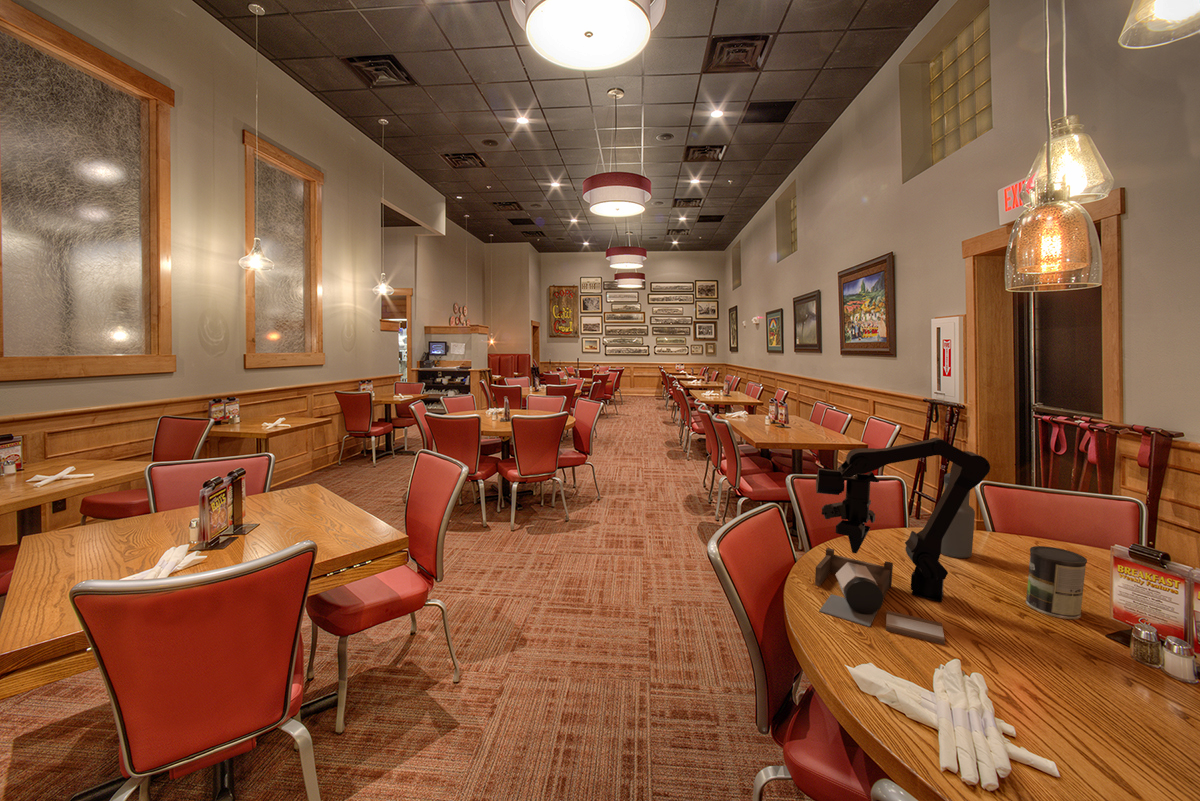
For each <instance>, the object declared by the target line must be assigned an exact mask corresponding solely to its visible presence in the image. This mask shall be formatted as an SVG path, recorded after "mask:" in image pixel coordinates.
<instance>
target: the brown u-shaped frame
mask: <svg viewBox="0 0 1200 801" xmlns="http://www.w3.org/2000/svg"><path fill="white" fill-rule="evenodd" d="M847 562H849V563H853V564H857V565H862V566H866V567H867V569H868V570H869V572H870V573H871V575H872V576H873V578H874V579H875V581H876V583H877V586H878V587H879V589H880V590H881V591H882V594H883V600H884V599H885V597H886V595H887V593H888V591H889V589H890V588H891V589H892V586H893V585H892V583H893V567H894V562H890V561H884V563H883V565H880V564H876V563H872V562H867V561H864V560H860V559H854V558H851V557H847V556H842V555H838V554H835V548H834V549H833V548H829V547H827V548H826V549H825V556H824V557H823V558H822V560H820V561H819V562H818V564H817V565H816V566H815V575H814V576H815V577H814V578H815V579H814V581H815V582H814V585H815V586H818V587H821V585H822V584H823V583H824V582H825V580H826V579H827V578H828V577H829V575H830V574H835V573H837V572H838V571H839V570H840V569H841V568H842V567H843V566H844V565H845V564H846V563H847ZM830 572H831V573H830ZM826 577H827V578H826Z"/></svg>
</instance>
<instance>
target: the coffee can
mask: <svg viewBox="0 0 1200 801" xmlns="http://www.w3.org/2000/svg"><path fill="white" fill-rule="evenodd" d="M1029 552H1030V554H1029V565H1028V576H1027V577H1028V578H1027V579H1028V580H1027V590H1026V599H1025V603H1026V606H1028V607H1029V608H1031V609H1032V610H1034V611H1036V612H1039V613H1041V614H1043V615H1047V616H1049V617H1055V618H1058V619H1065V620H1078V619H1080V618H1081V617H1082V607H1083V606H1082V604H1083V596H1084V588H1085V587H1084V586H1085V576H1086V567H1087V563H1088V559H1087V558H1086V557H1084V556H1083V555H1081V554H1079V553H1076V552H1074V551H1070V550H1069V549H1068V550H1067V549H1063V548H1058V547H1053V546H1043V545H1035V546H1031V547H1030V548H1029Z"/></svg>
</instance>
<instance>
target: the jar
mask: <svg viewBox="0 0 1200 801" xmlns="http://www.w3.org/2000/svg"><path fill="white" fill-rule="evenodd" d="M834 574H835V573H834ZM835 577H836V581H837V582H838V583H837V584H838V585H839V588H840V591H841V592H842V594H843V597H844V598H845V599H846V601H847V603H848V605H849V606H850V607H851V608H852V609H853V610H855V611H856V612H858V613H861V614H872V613H874V612H876V611H879V610H880V609H881V608H882V606H883V604H884V599H883V594H882V591H881V590H880V589H879V587H878V586H877V583H876V581H875V579H874V578H873V576H872V575H871V573H870V572H869V570H868V569H867V567H866V566H862V565H857V564H853V563H849V562H847V563H846V564H845V565H844V566H843V567H842V568H841V569H840V570H839V571H838V572H837V573H836V574H835Z"/></svg>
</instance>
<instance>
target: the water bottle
mask: <svg viewBox="0 0 1200 801" xmlns="http://www.w3.org/2000/svg"><path fill="white" fill-rule="evenodd" d="M949 481H950V472H948V473H945V474H944V476H943V482H944V483H943V484H944V491H945V489H946V487H947V485H948V483H949ZM944 491H943V492H944ZM970 494H971V490H970V491H969V492H968V494H967V496H966V498H965V499H964V501H963V503H962V505H961V507H960V508H959V510H958V512H957V514H956V516H955V517H954V519H953V521H952V523H951V524H950V526H949V528H948V530H947V532H946V533H945V535H944V537H943V539H942V546H941V554H940V555H943V556H946V557H950V558H954V559H955V558H956V559H967V558H970V557H972V555H973V548H974V547H973V545H974V543H973V542H974V533H975V532H974V531H975V518H976V512H975V511H976V510H975V509H974V508H973V507H972V506H970V499H971V498H970V497H971V496H970Z"/></svg>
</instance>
